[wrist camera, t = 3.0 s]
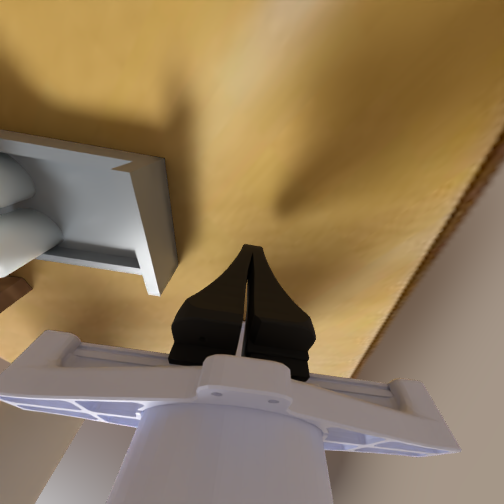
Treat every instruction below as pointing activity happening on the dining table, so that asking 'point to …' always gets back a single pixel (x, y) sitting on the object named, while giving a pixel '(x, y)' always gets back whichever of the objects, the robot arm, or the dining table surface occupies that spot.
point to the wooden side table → (12, 290)
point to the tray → (85, 208)
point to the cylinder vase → (31, 450)
